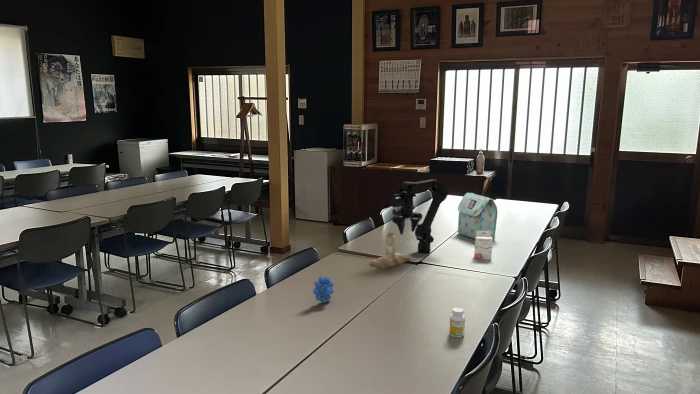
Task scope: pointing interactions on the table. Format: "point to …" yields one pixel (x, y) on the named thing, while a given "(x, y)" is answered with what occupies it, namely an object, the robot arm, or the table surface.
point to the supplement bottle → (457, 323)
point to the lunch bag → (476, 215)
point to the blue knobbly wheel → (323, 289)
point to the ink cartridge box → (483, 245)
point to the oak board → (387, 263)
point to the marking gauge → (390, 247)
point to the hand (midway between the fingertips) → (407, 233)
